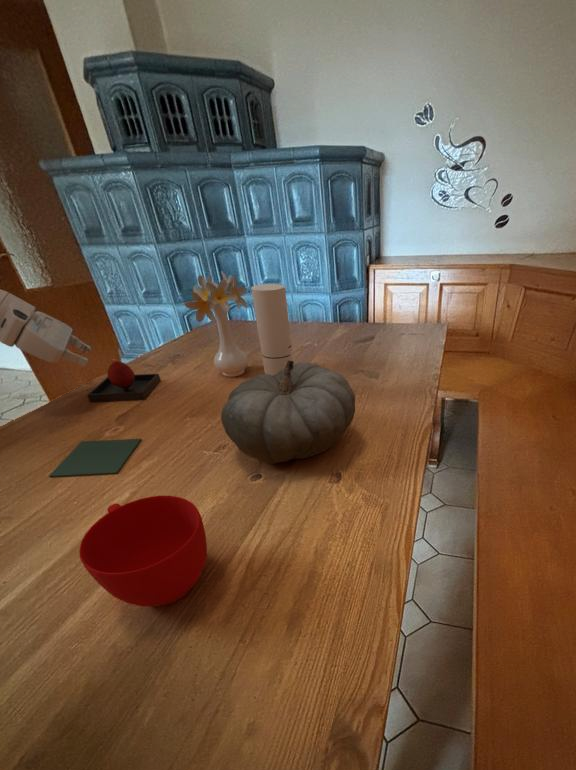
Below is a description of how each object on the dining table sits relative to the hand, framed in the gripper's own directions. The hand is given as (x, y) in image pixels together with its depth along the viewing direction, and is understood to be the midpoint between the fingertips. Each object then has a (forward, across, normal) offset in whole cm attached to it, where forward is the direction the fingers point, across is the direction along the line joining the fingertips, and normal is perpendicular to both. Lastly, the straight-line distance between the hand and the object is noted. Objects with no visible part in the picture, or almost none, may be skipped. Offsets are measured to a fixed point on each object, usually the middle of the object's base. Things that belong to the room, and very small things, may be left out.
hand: (88, 356), depth 92 cm
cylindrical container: (+36, +21, +22) cm, 47 cm away
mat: (+7, +32, -7) cm, 34 cm away
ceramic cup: (+14, +69, 0) cm, 71 cm away
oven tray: (+11, 0, -3) cm, 11 cm away
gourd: (+33, +45, +18) cm, 59 cm away
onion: (+10, 0, -3) cm, 11 cm away
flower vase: (+30, +1, +16) cm, 34 cm away
